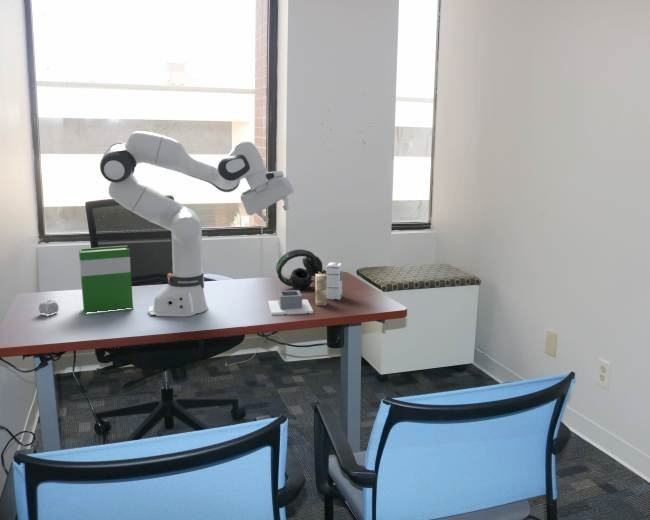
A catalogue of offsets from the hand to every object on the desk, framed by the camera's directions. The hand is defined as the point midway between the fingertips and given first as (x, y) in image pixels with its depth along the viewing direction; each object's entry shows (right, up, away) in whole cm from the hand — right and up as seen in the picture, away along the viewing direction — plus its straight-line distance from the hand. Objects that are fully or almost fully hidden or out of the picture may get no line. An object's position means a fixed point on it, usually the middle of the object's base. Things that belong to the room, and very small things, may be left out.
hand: (276, 215), depth 232 cm
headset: (+9, -29, +45) cm, 54 cm away
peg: (+16, -34, +20) cm, 43 cm away
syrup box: (+22, -32, +29) cm, 48 cm away
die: (-87, -37, +4) cm, 94 cm away
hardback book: (-66, -36, +11) cm, 76 cm away
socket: (+4, -35, +14) cm, 38 cm away
